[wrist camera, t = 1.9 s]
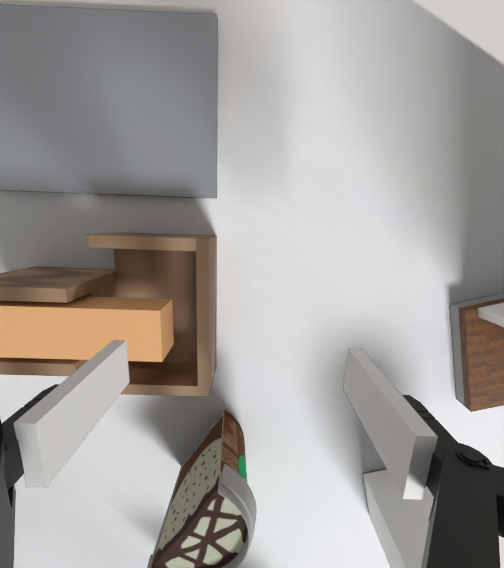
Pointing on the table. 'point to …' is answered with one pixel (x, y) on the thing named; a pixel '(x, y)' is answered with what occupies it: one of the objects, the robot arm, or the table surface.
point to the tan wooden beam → (86, 328)
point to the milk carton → (398, 520)
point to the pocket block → (137, 284)
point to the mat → (108, 101)
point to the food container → (209, 505)
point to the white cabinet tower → (479, 351)
